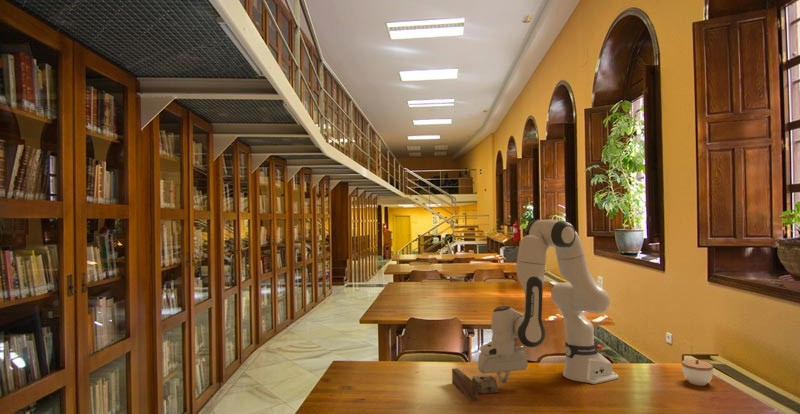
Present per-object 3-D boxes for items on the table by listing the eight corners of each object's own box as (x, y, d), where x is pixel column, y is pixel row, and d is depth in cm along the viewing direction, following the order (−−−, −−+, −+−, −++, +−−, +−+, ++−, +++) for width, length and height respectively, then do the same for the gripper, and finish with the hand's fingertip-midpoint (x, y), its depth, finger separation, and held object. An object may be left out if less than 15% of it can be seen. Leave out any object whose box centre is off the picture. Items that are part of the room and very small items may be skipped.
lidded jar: (686, 376, 197) (685, 354, 197) (716, 382, 189) (715, 359, 190) (678, 382, 190) (678, 359, 190) (709, 389, 182) (709, 365, 182)
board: (458, 382, 192) (457, 368, 192) (477, 401, 173) (477, 385, 173) (452, 383, 191) (452, 368, 191) (471, 402, 172) (471, 386, 172)
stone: (470, 374, 193) (495, 373, 192) (472, 389, 192) (496, 387, 191) (471, 380, 180) (497, 378, 179) (473, 395, 179) (499, 394, 178)
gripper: (522, 343, 192) (522, 377, 192) (476, 347, 187) (476, 381, 187) (530, 347, 186) (530, 382, 186) (482, 351, 181) (483, 387, 181)
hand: (503, 382), depth 186 cm, fingers closed
